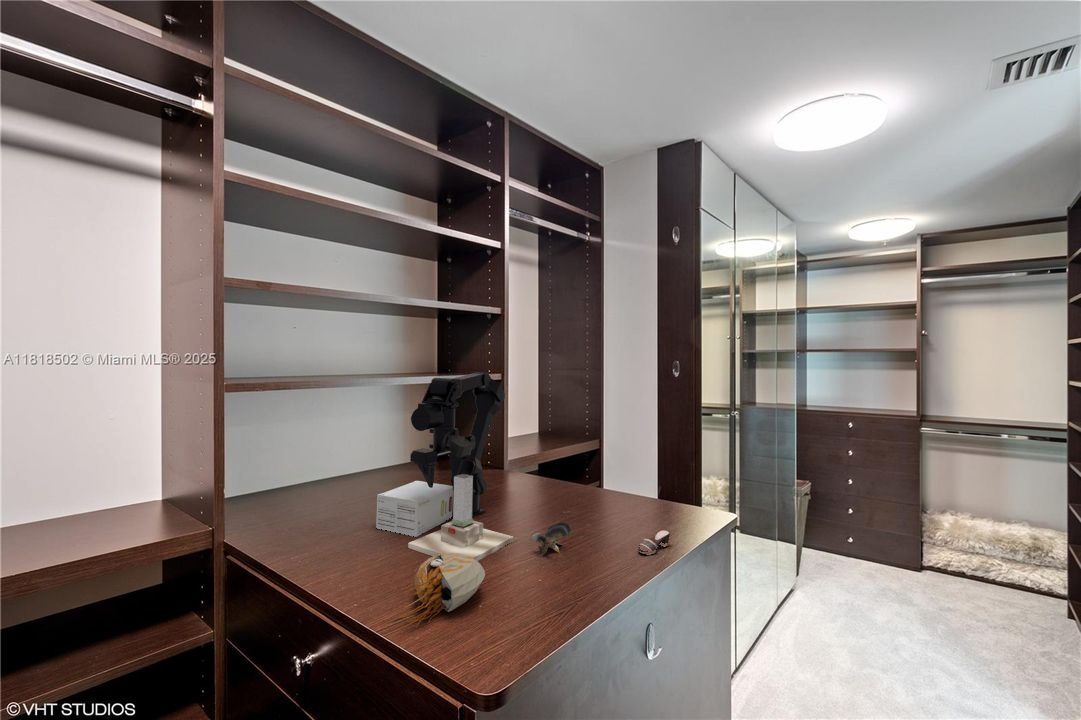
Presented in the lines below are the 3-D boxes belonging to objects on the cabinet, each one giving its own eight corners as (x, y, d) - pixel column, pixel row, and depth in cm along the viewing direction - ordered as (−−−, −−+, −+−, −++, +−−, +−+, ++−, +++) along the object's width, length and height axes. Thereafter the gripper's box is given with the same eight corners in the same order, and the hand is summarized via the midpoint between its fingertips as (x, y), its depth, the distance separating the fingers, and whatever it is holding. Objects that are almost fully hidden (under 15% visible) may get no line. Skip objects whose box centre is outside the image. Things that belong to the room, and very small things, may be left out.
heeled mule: (630, 552, 119) (631, 536, 119) (659, 542, 126) (660, 527, 126) (645, 559, 116) (646, 543, 115) (674, 548, 122) (675, 533, 122)
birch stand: (458, 526, 133) (459, 507, 133) (513, 541, 123) (513, 520, 123) (408, 547, 118) (408, 526, 117) (465, 567, 108) (466, 543, 108)
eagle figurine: (564, 556, 112) (578, 536, 120) (547, 529, 113) (562, 511, 121) (539, 567, 116) (554, 547, 124) (523, 541, 116) (539, 522, 124)
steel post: (461, 520, 123) (462, 473, 122) (472, 523, 121) (473, 475, 121) (452, 524, 120) (453, 476, 120) (463, 527, 118) (464, 478, 118)
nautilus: (429, 649, 79) (364, 626, 87) (503, 586, 98) (444, 572, 105) (426, 601, 79) (361, 582, 86) (500, 547, 98) (442, 536, 105)
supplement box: (416, 538, 124) (417, 501, 124) (375, 529, 129) (376, 494, 129) (453, 517, 140) (454, 485, 140) (415, 510, 145) (415, 479, 145)
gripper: (441, 433, 119) (440, 497, 119) (489, 423, 134) (488, 480, 135) (409, 428, 125) (408, 489, 125) (458, 419, 140) (458, 473, 141)
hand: (443, 483), depth 131 cm, fingers open, 9 cm apart
